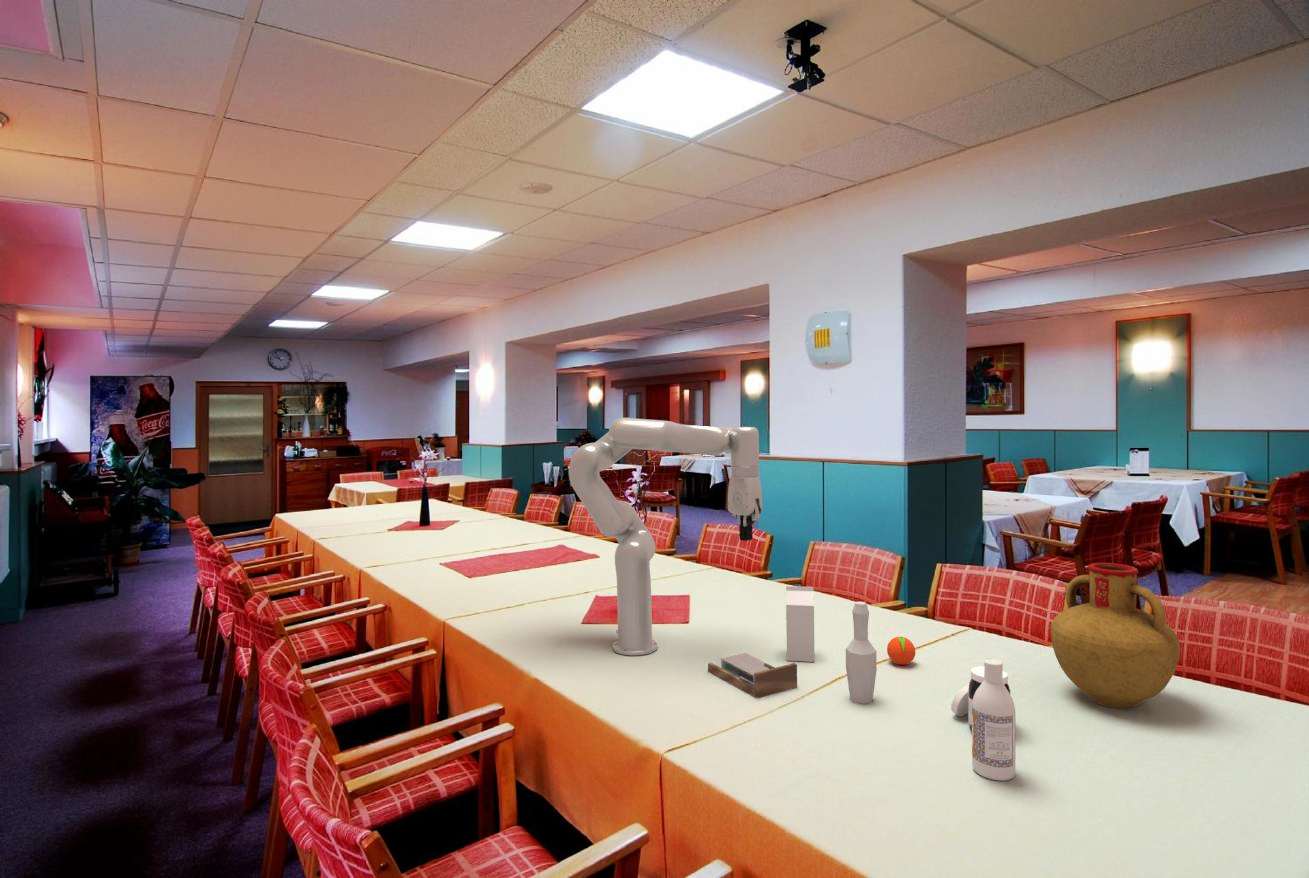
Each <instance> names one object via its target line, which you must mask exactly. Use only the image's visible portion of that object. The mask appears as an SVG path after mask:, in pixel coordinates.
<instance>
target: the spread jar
mask: <svg viewBox="0 0 1309 878" xmlns="http://www.w3.org/2000/svg"><path fill="white" fill-rule="evenodd" d="M983 681H984V665H983V666H979V665H978V666H975V667H974V666H973V667H971V669H970V680H969V683H968V684H967V685H965V686H963V687H961V688H960V689H959V690H958V692H957V693H956V694H955V695H954V697H953V700H952V701H951V702H952V703H951V705H950V708H951V709H950V710H951V711H952V713H954V714H955V715H956V716H958V717H963V716H965V715H966V714H967V713H968V717H967V718H968V725H969V727H970V728H971V729H972V701H973V697H974V694H975V692H976V690H977V689H978V687H979V686H980V685H981V684H982V682H983ZM1002 682H1003V684H1004V686H1005V687H1006V689H1007V690H1008V692H1009V693H1010V694H1011V688H1010V685H1009V674H1008V672H1006V671H1005V670H1003V678H1002Z"/></svg>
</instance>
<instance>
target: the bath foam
mask: <svg viewBox="0 0 1309 878" xmlns="http://www.w3.org/2000/svg"><path fill="white" fill-rule="evenodd" d="M983 664H984V665H983V666H984V681H983V682H982V684H981V685H980V686H979V687H978V689H977V690H976V692H975V694H974V697H973V701H972V728H971V757H972V759H971V760H972V763H971V764H972V768H973V770H974V771H975V772H976V774H978V775H980V776H981V777H983V778H986V779H988V780H989V779H990V780H994V781H1001V782H1003V781H1009V780H1012V779H1013V778H1014V777H1015V776H1016V707H1015V703H1014V700H1013V697H1012V695H1011V692H1010V693H1009V692H1008V690H1007V689H1006V687H1005V686H1004V684H1003V682H1002V678H1003V671H1004V670H1003V662H1002V661H1000V660H998V659H994V658H993V659H992V658H989V659H987V658H986V659H985V660H984V662H983Z"/></svg>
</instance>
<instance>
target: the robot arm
mask: <svg viewBox="0 0 1309 878" xmlns="http://www.w3.org/2000/svg"><path fill="white" fill-rule="evenodd" d="M759 434H760V433H759V430H758V428H756V427H755V426H736V427H726V426H725V427H724V426H705V425H704V426H703V425H691V424H682V423H676V422H674V421H669V420H664V419H663V420H661V419H659V420H658V419H646V418H645V419H644V418H633V417H619V418H617V419H615V420H613V421H612V423H611V425H610V426H609V428H608V432H606V433H605V434H604V435H603V436H602V437H600V438H599V439H598V440H596V441H595V442H590V443H585V444H583V445H581V446H580V447H579V448H577V449H576V451H575V452H574V454H573V455H572V457H571V458H570V462H569V464H568V465H569V466H568V479H569V482H570V484H571V487H572V489H573V490H574V492H575V494H576V495H577V497H578V498H579V500H580V501H581V502H582V504H583V506H584V508H585V509H586V512H587V513H588V514H589V516H590V518H591V519H592V520H593V522H594V524H595V525H596V526H597V528H598V530H599V532H600V533H601V534H602V535H604V536H605V537H607V538H611V539H612V538H615V539H616V541H617V543H618V545H617V546H616V549H615V552H614V566H615V573H616V595H617V599H616V600H617V605H616V606H617V629H616V631H615V633H616V634H617V640H616V641H615V642H614V643H613V644H612V650H613V651H614V652H615V653H617V654H619V655H623V656H624V655H625V656H644V655H648V654H651V653H654V652H655V651H657V650H658V647H659V646H658V642H657V641H656V640H654V639H653V623H652V621H653V620H652V577H651V569H650V568H651V567H650V562H651V559H652V558H653V557H654V555H655V552H656V542H655V539H654V537H653V536H652V533H651V532H650V530H649V529H648V528H647V526H646V525H645V523H644V522H643V520H642V519H641V517H640V515H639V514H638V512H637V511H636V509H634V508H633V506H632V505H631V504H630V503H628V502H626V501H624V500H619V499H617V498H616V497H615V495H614V494H613V492H612V490H611V488H610V487H609V486H608V485H607V484H606V482H605V481H604V480H603V479H602V477H601V475H600V474H601V473H600V472H603V471H606V470H607V469H610V468H611V467H612V466H613V465H615V464H616V463H617V462H618V461H620V460H621V459H622V458H623V457H624V456H626V455H627V454H628V453H629V452H631V451H632V450H645V451H656V452H666V453H667V452H668V453H683V454H694V455H704V456H705V455H707V456H719V455H721V454H723V453H725V454H726V453H730V465H731V466H730V477H729V481H728V487H727V488H728V490H727V511H728V512H729V513H731V515H732V517H734V518H735V519H737V525H738V526H739V532H738V533H739V535H738V536H739V540H740V541H743V542H744V541H745V542H747V541H752V540H753V538H754V537H753V526H754V524H755V521H759V520H761V514H762V512H763V495H762V494H763V493H762V484H761V483H762V482H761V479H760V451H759V450H760V443H759V441H760V436H759Z"/></svg>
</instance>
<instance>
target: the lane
mask: <svg viewBox="0 0 1309 878" xmlns="http://www.w3.org/2000/svg"><path fill="white" fill-rule="evenodd" d="M764 666H765V667H767V668H769V669H768V670H764V671H760V672H756V673H754V683H753V682H751V681H749V680H747V679H745V678H743V677H738V676H736V675H734V674H732V673H730V672H728V671H726V670H724V669H722V668H721V667H720V666H718V665H716V664H714V663H713V662H707V671H708V672H709V673H711V674H713V675H714V676H716V677H719V678H720V679H721V680H724V681H726V682H727V683H729V684H731V685H732V686H734V687H736V688H738V689H739V690H740V691H741V690H742V691H744V692H745V693H747V694H749V695H751V696H752V697H754V698H755V699H756V698H757V699H759V698H762V697H767V696H770V695H774V694H777V693H778V694H779V693H781V692H785V691H788V690H792V689H795V688H798V664H797V663H795V662H793V663H789V664H785V665H781V666H777V667H775V666H773V665H771V664H768V663H766V662H765V664H764Z"/></svg>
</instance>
